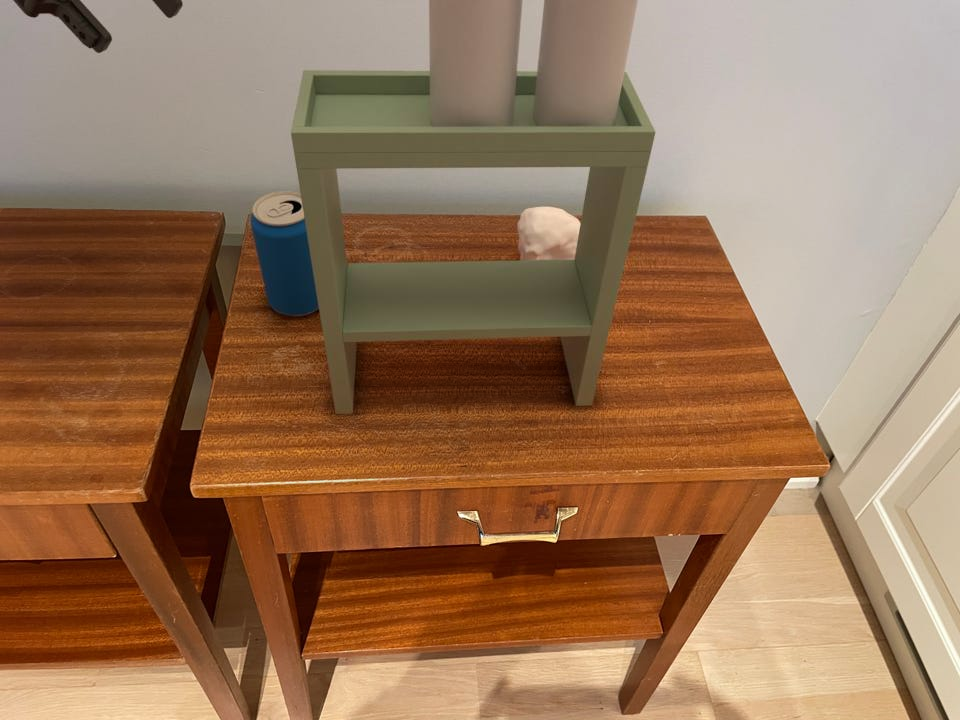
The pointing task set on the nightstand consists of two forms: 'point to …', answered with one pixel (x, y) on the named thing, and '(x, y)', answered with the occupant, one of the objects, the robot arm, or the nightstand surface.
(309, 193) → the shelf stand
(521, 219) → the pale pink lump
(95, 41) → the robot arm
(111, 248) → the nightstand surface
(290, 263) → the beverage can
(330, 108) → the can shelf
